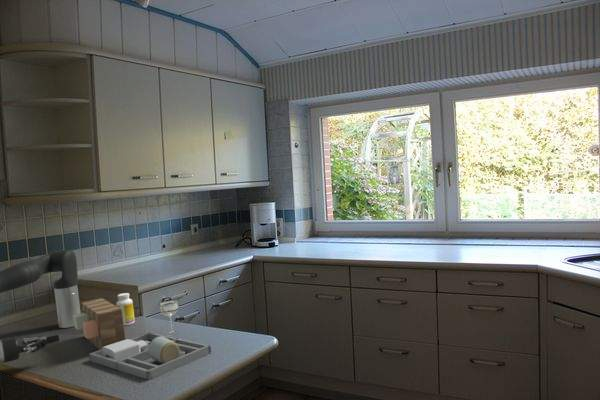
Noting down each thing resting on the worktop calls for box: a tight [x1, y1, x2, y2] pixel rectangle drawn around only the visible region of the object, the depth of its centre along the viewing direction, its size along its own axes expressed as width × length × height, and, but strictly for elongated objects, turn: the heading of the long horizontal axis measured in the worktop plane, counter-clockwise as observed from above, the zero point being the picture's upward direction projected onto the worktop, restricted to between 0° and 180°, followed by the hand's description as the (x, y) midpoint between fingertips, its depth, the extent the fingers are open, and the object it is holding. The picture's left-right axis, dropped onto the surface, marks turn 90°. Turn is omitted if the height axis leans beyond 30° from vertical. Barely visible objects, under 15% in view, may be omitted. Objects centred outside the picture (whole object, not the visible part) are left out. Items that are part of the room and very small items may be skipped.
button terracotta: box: [82, 320, 99, 340], centre depth 183 cm, size 5×5×5 cm
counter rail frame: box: [88, 332, 212, 381], centre depth 170 cm, size 35×24×2 cm
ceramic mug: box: [147, 336, 186, 364], centre depth 165 cm, size 11×8×8 cm
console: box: [80, 297, 126, 350], centre depth 192 cm, size 28×8×14 cm, turn 35°
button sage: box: [73, 312, 88, 331], centre depth 196 cm, size 5×5×5 cm
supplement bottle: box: [115, 292, 136, 327], centre depth 215 cm, size 7×7×13 cm
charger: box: [102, 338, 151, 361], centre depth 175 cm, size 5×9×15 cm
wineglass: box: [159, 300, 179, 333], centre depth 195 cm, size 7×7×12 cm
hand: (58, 337), depth 176 cm, fingers closed
